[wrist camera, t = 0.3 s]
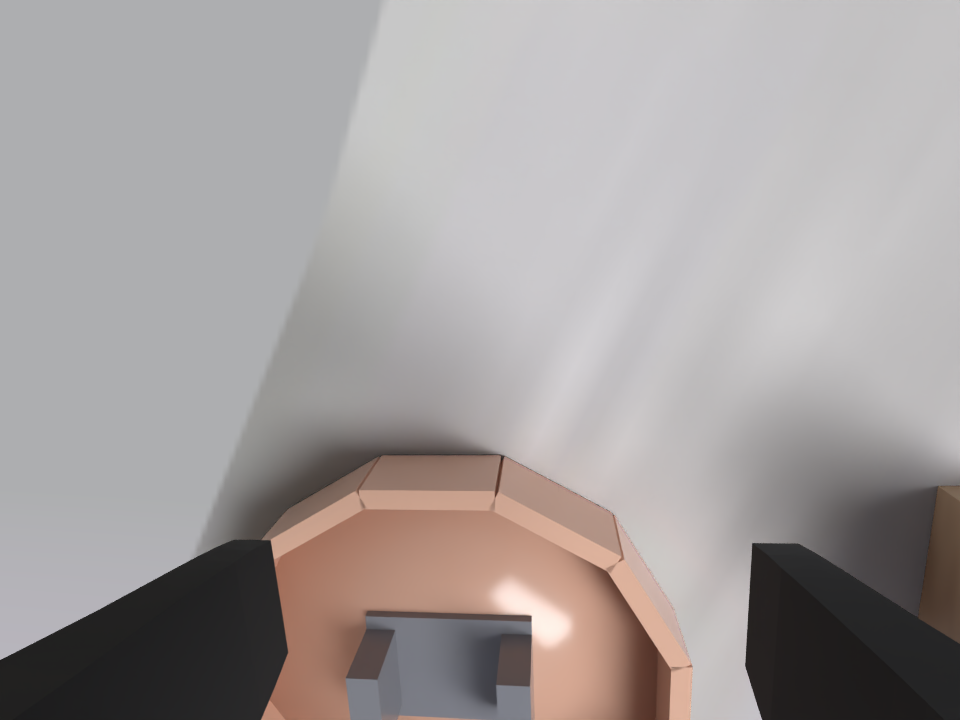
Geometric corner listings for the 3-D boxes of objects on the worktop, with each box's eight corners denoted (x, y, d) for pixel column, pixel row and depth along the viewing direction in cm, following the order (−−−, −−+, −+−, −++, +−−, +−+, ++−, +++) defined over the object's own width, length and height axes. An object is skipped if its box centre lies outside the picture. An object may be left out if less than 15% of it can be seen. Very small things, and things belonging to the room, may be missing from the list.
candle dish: (666, 833, 22) (684, 928, 19) (278, 805, 24) (241, 888, 21) (680, 455, 18) (705, 501, 15) (222, 455, 20) (167, 496, 17)
